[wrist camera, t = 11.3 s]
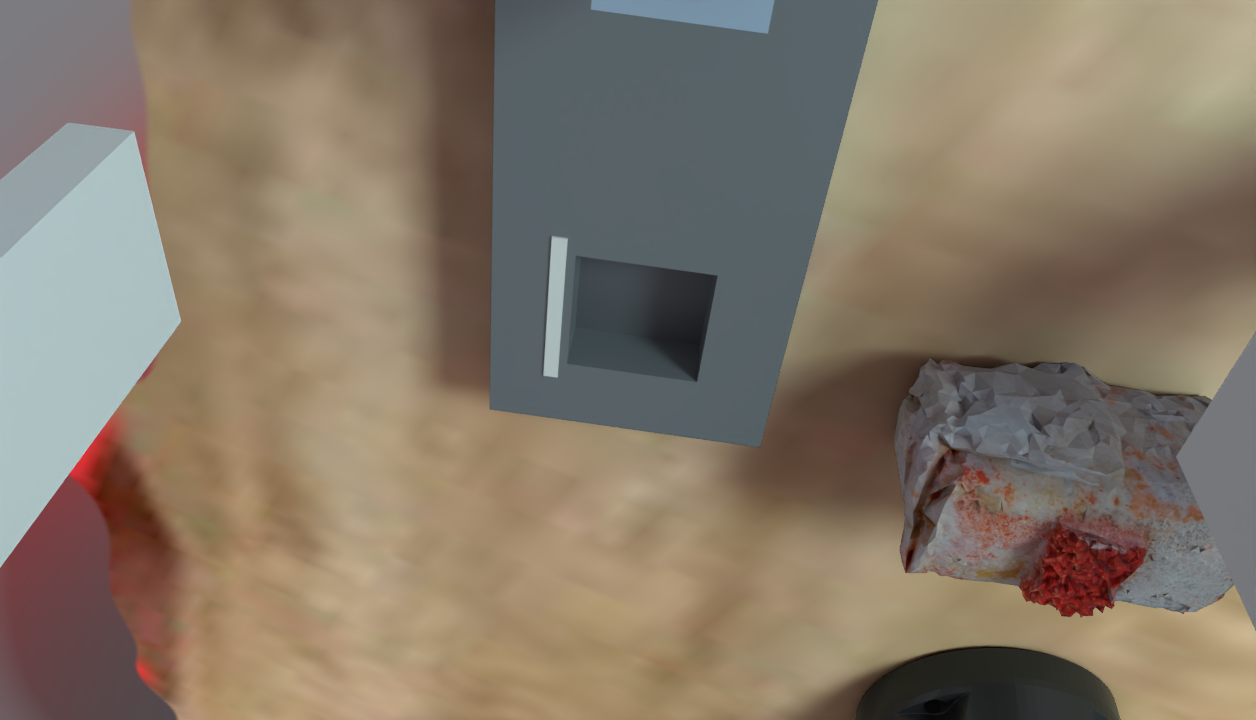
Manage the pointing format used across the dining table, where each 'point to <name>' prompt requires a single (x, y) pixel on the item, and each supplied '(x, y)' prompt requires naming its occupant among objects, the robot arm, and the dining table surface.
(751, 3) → the plug
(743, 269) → the panel
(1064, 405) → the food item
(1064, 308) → the dining table surface
